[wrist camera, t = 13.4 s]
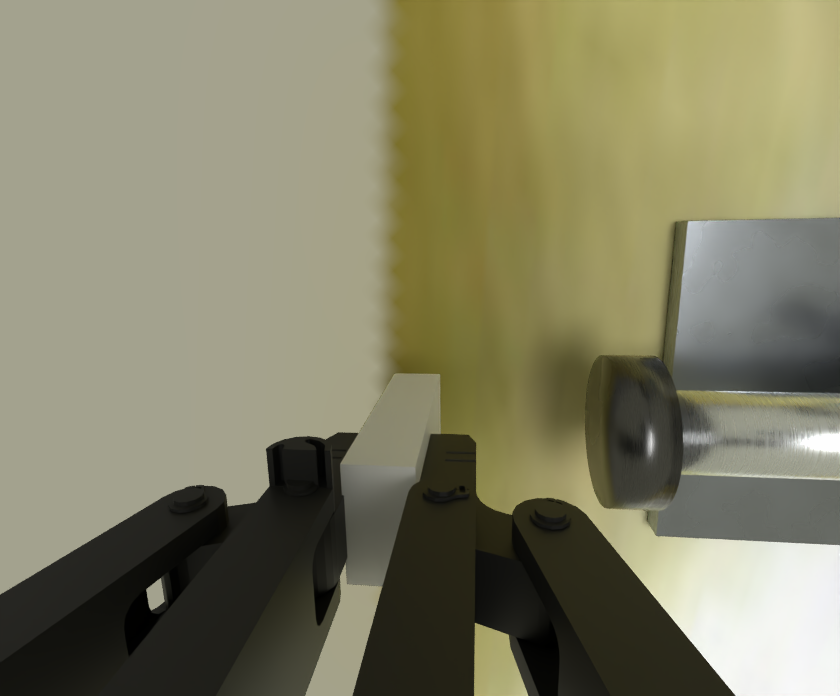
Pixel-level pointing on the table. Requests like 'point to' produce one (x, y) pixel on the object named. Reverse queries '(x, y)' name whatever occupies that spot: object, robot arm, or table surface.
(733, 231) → the bolt fixture plate
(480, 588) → the robot arm
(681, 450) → the shaft
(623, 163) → the table surface
